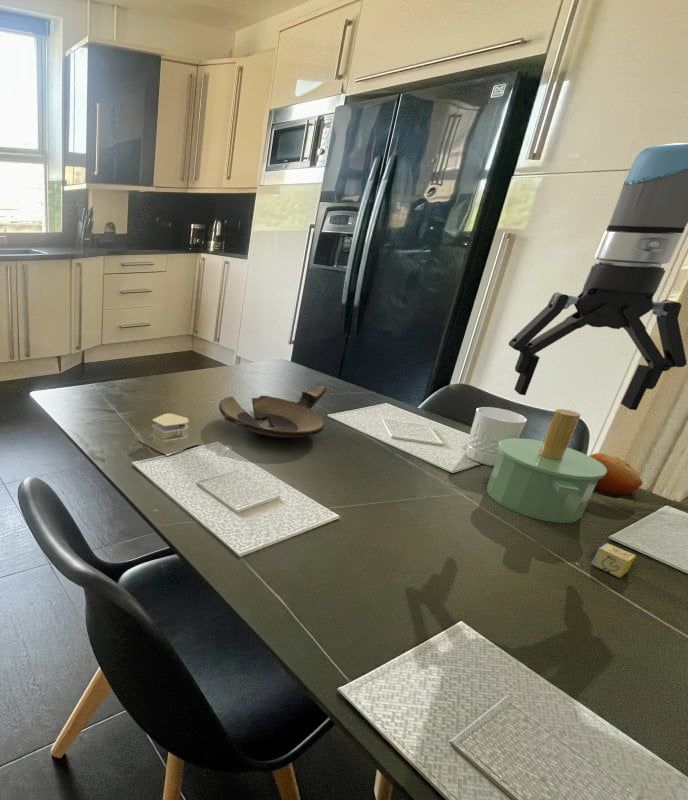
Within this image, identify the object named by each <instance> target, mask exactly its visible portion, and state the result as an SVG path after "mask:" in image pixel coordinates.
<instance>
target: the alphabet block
mask: <svg viewBox="0 0 688 800" xmlns="http://www.w3.org/2000/svg"><path fill="white" fill-rule="evenodd" d="M636 557H637V555H636V554H634V553H632V552H630V551H626V550H624V549H622V548H619V547H617V546H615V545H613V544H610V543H608V542H607V543H604V544H603V545H602V546H600V547H599V548H598V550H597V552H596V554H595V555H594V557H593V559H592V561H591V563H590V564H591V566H594V567H595V568H598V569H600V570H602V571H604V572H606V573H609V574H610V575H612V576H615V577H617V578H619V579H620V578H622V577H623V576H625V574H627V573H628V571H629V570H630V568H631V566H632V564H633V563H634V561H635V559H636Z"/></svg>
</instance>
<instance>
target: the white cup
mask: <svg viewBox="0 0 688 800" xmlns="http://www.w3.org/2000/svg"><path fill="white" fill-rule="evenodd" d="M527 421H528V418H526V417H525V416H523V415H522V414H520V413H517V412H515V411H512V410H509V409H504V408H499V407H491V406H481V407H478V408H476V410H475V414H474V417H473V421H472V424H471V428H470V432H469V433H470V434H469V436H468V443H467V445H466V450H465V453H466V454H465V455H466V457H467V456H468V457H469V458H468V457H467V458H468V459H470V458H471V459H470V460H472V461H473V460H475V461H474V462H476V461H477V462H476V463H479V462H480V463H479V464H482V465H486V466H491V467H494V466H495V463H496V460H497V458H498V455H499V452H500V451H499V449H498V445H499V442H500V441H502V440H505V439H510V438H520V437H521V435H522V432H523V430H524V428H525V426H526V423H527Z"/></svg>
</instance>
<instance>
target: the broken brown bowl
mask: <svg viewBox="0 0 688 800" xmlns="http://www.w3.org/2000/svg"><path fill="white" fill-rule="evenodd" d="M327 389H328V388H327V387H326V386H325V385H322V386H319V387H318V388H316V389H314V390H312V391H302V392H301V397H300V398H299V400H298V402H295V401H291V400H286V399H283V398H279V397H273V396H269V395H260V396H259V397H252V398H251V403H252V409H253V413H254V417H253V416H251V415H250V414H249V413H248V412H247V411H246V409H244V408H243V407H242V406H241V404H240V403H238V401H237V400H236V398H234V397H233V396H228V397H224V398H223V399H221V400H220V401H219V403H218V404H219V405H218V409H219V412H220V414H221V415H222V416H223V419H224V420H225V421H228V422H230V423H233V424H235V425H236V426H237V427H240V428H243V429H245V430H248V431H250V432H252V433H255V434H258V435H262V436H267V437H273V438H301V437H307V436H312V435H313V436H314V435H317V434H319V433H320V432H323V430H324V428H325V421H324V418H323V417H322V416H321V415H320V414H319V413H317V412H316V411H314V410H313V409H312V408H313V407H314V406H315V405H316V404H317V402H318V401H319V400H320V399H321V398H322V397H323V396H324V394H325V393H326V391H327ZM265 420H269V423H270V424H271V425H272V428H266V427H263V425H265V423H264V424H260V423H259V422H258V421H265Z"/></svg>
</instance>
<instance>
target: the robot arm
mask: <svg viewBox="0 0 688 800" xmlns="http://www.w3.org/2000/svg"><path fill="white" fill-rule="evenodd" d="M687 225H688V142H681V143H679V142H678V143H667V144H666V143H665V144H658V145H651V146H649V147H647V148H644V149H643V150H641V151H639V153H638V154H637V155H636V157H635V159H634V161H633V163H632V164H631V166H630V169H629V171H628V173H627V175H626V177H625V180H624V181H623V182H622V187H621V190H620V192H619V195H618V197H617V200H616V203H615V206H614V209H613V212H612V215H611V217H610V220H609V223H608V225H607V227H606V231H605V232H604V234H603V237H602V238H601V242H600V244H599V246H598V249H597V251H596V253H595V256H594V258H595V259H596V260H598V262H595V263H594V264H591V267H590V270H589V272H588V275H587V276H586V279H585V282H584V285H583V288H582V291H581V292H580V293H579V294H578V295H577V296H574V295H569V294H565V293H562V292H554V293H553V294H552V295H551V297H550V300H549V302H548V304H547V305H546V306H545V307H544V308H543V309H542V310H541V311H540V312H539V313H538V314H537V315H536V316H534V318H533V319H532V320H530V322H528V323H527V324H526V325H525V326H524V327H523V328H522V329H521V330H520V331H519V332H518V333H517V334H516V335H514V337H512V338H511V339H510V340H509V341H508V346H509V347H511V348H512V349H513V350H515V351H518V352H519V356H518V358H517V361H516V363H515V365H514V366H515V367H514V371H515V372H516V373H517V374H519V375H518V378H517V381H516V383H515V386H514V389H513V390H514V391H515V392H516V393H517V394H518V395H519V396H526V395H527V392H528V389H529V387H530V385H531V381H532V378H533V376H534V374H535V371H536V368H537V366H538V363H539V361H540V356H539V355H537V353H538V352H541V351H542V350H544V349H546V348H547V347H549V346H551V345H552V344H554V343H555V342H557V341H559V340H561V339H562V338H564V337H566V336H567V335H569V334H571V333H572V332H574V331H576V330H578V329H581V328H582V329H583V328H584V327H585V326H587V325H588V326H589V327H592V328H605V327H606V328H609V329H612V330H620V329H622V328H623V329H624V330H625V331H626V332H627V334H628V336H629V337H630V339H631V340H632V342H633V343H634V345H635V347H636V348H637V350H638V351H639V353H640V354H641V356H642V358H643V359H644V360H645V362H646V364H647V365H646V364H638V365H637V367H636V370H635V372H634V373H633V376H632V378H631V380H630V383H629V384H628V387H627V389H626V391H625V393H624V396H623V397H622V400H621V402H620V404H621V405H622V406H624V407H626V408H627V409H628V410H631V411H632V410H633V411H637V409H638V407H639V406H640V403H641V401H642V399H643V397H644V395H645V393H646V391H647V390H653V389H654V388H655V387H656V386H657V384H658V382H659V380H660V378H661V376H662V374H663V372H668V371H669V370H671V368H683V367H685V366H687V356H686V353H685V348H684V342H683V337H682V333H681V327H680V323H679V315H680V312H681V309H682V303H680V302H678V301H675V300H674V301H673V300H671V299H664V300H661V301H654V300H653V299H654V296H655V294H656V293H657V290H658V289H659V287H660V284H661V282H662V280H663V278H664V275H665V274H666V269H665V267H662V265H663V264H664V265H665V264H668V263H670V262H671V260H672V258H673V255H674V253H675V252H676V251H675V250H676V249H677V247H678V245H679V242H680V240H681V238H682V236H683V234H684V232H685V230H686V227H687ZM572 305H574V307H575V309H576V311H575V312H573V313H572V314H570V315H568V316H567V317H566V318H564V320H563V321H561V322H559V323H558V324H556V325H554V326H552V327H550V328H549V329H548V330H546V331H544V332H543V333H542V334H540V335H538V334H539V333H541V332H542V331H543V330H544V329H545V328H546V327H547V326H548V325H549V324H550V323H551V322H553V320H554V319H556V318H557V317H558V316H559V315H560V314H561V313H562V311H563V310H566V309H569V308H570V306H572ZM651 311H652V314H653V315H654V316H656V318H655V319H656V324H657V328H658V329H657V330H658V334H659V339H660V343H661V348H662V352H663V354H662V353H661V352H660V350H659V349H658V346H657V345H656V344H655V341H654V340H653V339H652V337H651V336H650V335H649V333H648V331H647V327H646V326H645V325H644V322H643V321H642V320H641V318H642V317H643V316H645V315H646V314H648V313H650V312H651ZM537 335H538V336H537Z"/></svg>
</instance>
